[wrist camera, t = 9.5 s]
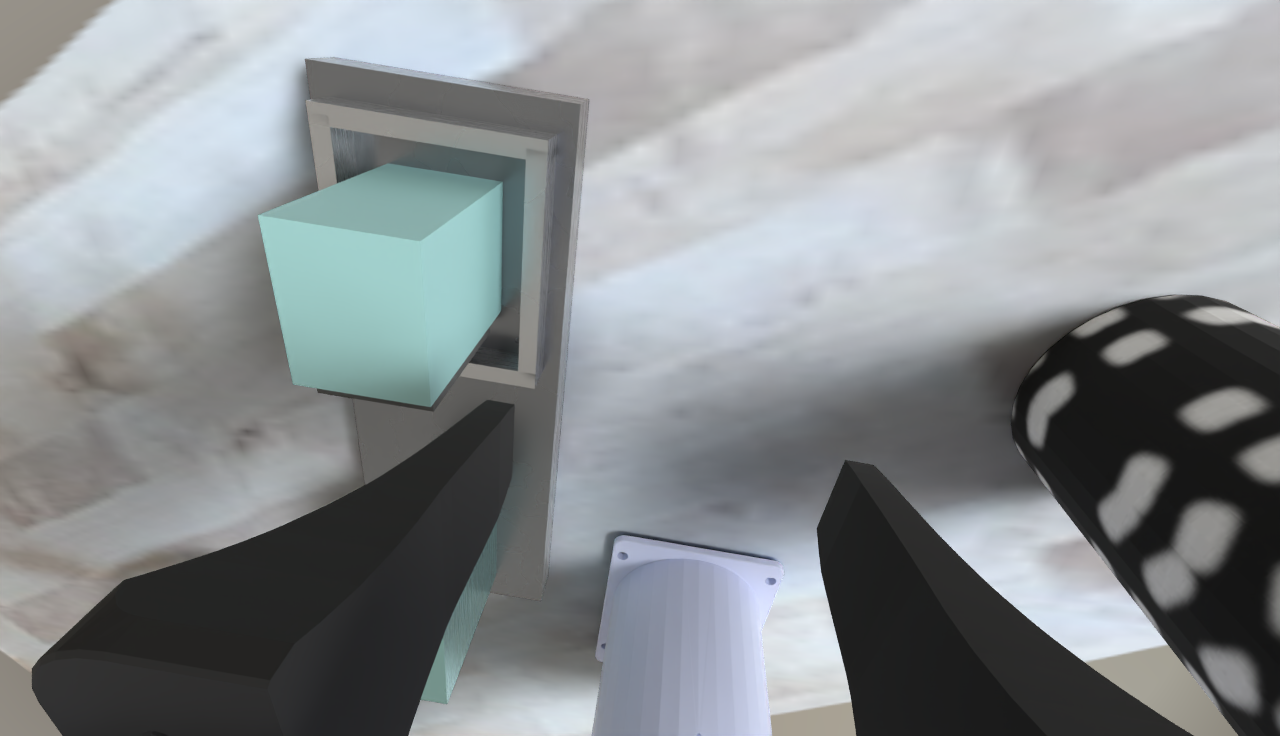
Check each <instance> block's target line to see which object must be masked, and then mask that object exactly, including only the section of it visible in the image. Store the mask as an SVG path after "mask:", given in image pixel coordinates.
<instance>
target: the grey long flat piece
mask: <svg viewBox="0 0 1280 736" xmlns="http://www.w3.org/2000/svg"><path fill="white" fill-rule="evenodd" d="M305 63H306V70H307V77H308V84H309V92H310V99H311V100H305V101H306V108H307V115H308V122H309V129H310V135H311V142H312V149H313V156H314V163H315V170H316V177H317V184H318V191H320V190H322V189H325V188H327V187H330V186H332V185H335V184H337V183H340V182H342V181H345V180H347V179H350V178H352V177H355V176H357V175H360V174H362V173H365V172H367V171H370V170H372V169H375V168H377V167H380V166H382V165H385V164H387V163H389V164H395V165H402V166H408V167H414V168H420V169H427V170H433V171H439V172H445V173H451V174H458V175H464V176H470V177H476V178H483V179H489V180H495V181H501V182H503V211H502V293H501V312H500V313H499V315H498V316H497V317H496V319H495V320H494V321H493V323H492V324H491V326H490V334H489V335H488V337H487V338H486V339H485V341H484V342H483V344H482V345H481V346H480V348H479V349H478V351H477V352H476V353H475V355H474V356H473V358H472V359H471V360H470V362H469V363H468V365H467V366H466V367H465V369H464V370H463V372H462V373H461V374H460V376H459V377H458V379H457V380H456V381H455V383H454V384H453V386H452V387H451V388H450V390H449V391H448V393H447V394H446V395H445V397H444V398H443V400H442V401H441V402H440V404H439V405H438V407H437V408H436V409H435V411H434V412H432V411H426V410H420V409H414V408H408V407H402V406H396V405H390V404H384V403H378V402H372V401H365V400H359V399H353V404H354V411H355V418H356V426H357V433H358V440H359V447H360V454H361V461H362V468H363V475H364V482H365V485H366V484H368V483H370V482H371V481H373V480H375V479H376V478H378V477H380V476H381V475H383V474H384V473H386V472H388V471H389V470H391V469H392V468H394V467H395V466H397V465H398V464H400V463H401V462H403V461H404V460H406V459H407V458H409V457H410V456H412V455H413V454H415V453H416V452H418V451H419V450H421V449H422V448H423V447H425V446H426V445H427V444H429V443H430V442H432V441H433V440H434V439H436V438H437V437H438V436H440V435H441V434H443V433H444V432H445V431H447V430H448V429H449V428H450V427H452V426H453V425H454V424H456V423H457V422H458V421H460V420H461V419H462V418H463V417H465V416H466V415H467V414H469V413H470V412H471V411H472V410H474V409H475V408H476V407H478V406H479V405H480V404H482V403H483V402H484V401H486V400H492V401H498V402H504V403H509V404H515V412H514V442H513V471H512V479H511V482H510V485H509V488H508V491H507V494H506V497H505V500H504V503H503V506H502V509H501V512H500V515H499V517H498V520H497V522H496V524H495V526H494V528H493V530H492V532H491V534H490V536H489V539H488V541H487V543H486V545H485V547H484V549H483V551H482V553H481V555H480V557H479V559H478V561H477V563H476V566H475V568H474V570H473V572H472V574H471V576H470V578H469V580H468V582H467V584H466V586H465V588H464V590H463V592H462V594H461V596H460V599H459V601H458V603H457V605H456V607H455V609H454V611H453V614H452V616H451V618H450V621H449V623H448V625H447V628H446V630H445V633H444V636H443V639H442V641H441V644H440V647H439V649H438V652H437V655H436V658H435V660H434V663H433V666H432V668H431V671H430V674H429V677H428V680H427V682H426V685H425V688H424V691H423V694H422V697H421V699H420V700H426V701H432V702H437V703H443V704H447V703H448V701H449V698H450V696H451V693H452V690H453V688H454V685H455V682H456V680H457V677H458V674H459V672H460V669H461V667H462V664H463V661H464V659H465V656H466V653H467V651H468V648H469V646H470V643H471V640H472V638H473V635H474V632H475V630H476V627H477V624H478V622H479V619H480V617H481V614H482V611H483V609H484V606H485V603H486V601H487V598H488V595H489V593H496V594H502V595H508V596H514V597H519V598H525V599H531V600H537V601H541V599H542V595H543V592H544V588H545V585H546V581H547V578H548V570H549V559H550V547H551V536H552V524H553V512H554V501H555V489H556V478H557V466H558V455H559V443H560V432H561V420H562V408H563V397H564V385H565V374H566V362H567V351H568V339H569V327H570V316H571V304H572V293H573V281H574V270H575V258H576V246H577V235H578V223H579V212H580V200H581V189H582V177H583V165H584V154H585V142H586V131H587V119H588V108H589V99H584V98H578V97H572V96H566V95H560V94H553V93H547V92H541V91H535V90H529V89H523V88H517V87H511V86H505V85H499V84H493V83H487V82H481V81H475V80H468V79H462V78H456V77H450V76H444V75H438V74H432V73H426V72H420V71H414V70H408V69H402V68H396V67H390V66H384V65H377V64H371V63H365V62H359V61H353V60H347V59H341V58H335V57H330V58H310V59H305Z"/></svg>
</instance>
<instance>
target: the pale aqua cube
mask: <svg viewBox="0 0 1280 736" xmlns="http://www.w3.org/2000/svg"><path fill="white" fill-rule="evenodd" d="M502 211H503V182H501V181H495V180H489V179H483V178H476V177H470V176H464V175H458V174H451V173H445V172H439V171H433V170H427V169H420V168H414V167H408V166H402V165H395V164H389V163H387V164H385V165H382V166H380V167H377V168H375V169H372V170H370V171H367V172H365V173H362V174H360V175H357V176H355V177H352V178H350V179H347V180H345V181H342V182H340V183H337V184H335V185H332V186H330V187H327V188H325V189H322V190H320V191H317V192H315V193H312V194H310V195H307V196H305V197H302V198H300V199H297V200H295V201H292V202H289V203H287V204H284V205H282V206H279V207H277V208H274V209H272V210H269V211H267V212H264V213H262V214H259V215H258V219H259V223H260V228H261V233H262V238H263V243H264V247H265V252H266V257H267V262H268V267H269V272H270V276H271V281H272V286H273V291H274V296H275V300H276V305H277V310H278V315H279V320H280V324H281V329H282V334H283V339H284V344H285V348H286V353H287V358H288V363H289V368H290V372H291V377H292V382H293V385H299V386H305V387H311V388H317V391H318V393H323V394H329V395H335V396H341V397H347V398H353V399H359V400H365V401H372V402H378V403H384V404H390V405H396V406H402V407H408V408H414V409H420V410H426V411H432V412H434V411H435V409H436V408H437V407H438V405H439V404H440V402H441V401H442V400H443V398H444V397H445V395H446V394H447V393H448V391H449V390H450V388H451V387H452V386H453V384H454V383H455V381H456V380H457V379H458V377H459V376H460V374H461V373H462V372H463V370H464V369H465V367H466V366H467V365H468V363H469V362H470V360H471V359H472V358H473V356H474V355H475V353H476V352H477V351H478V349H479V348H480V346H481V345H482V344H483V342H484V341H485V339H486V338H487V337H488V335H489V334H490V326H491V324H492V323H493V321H494V320H495V319H496V317H497V316H498V315H499V313H500V312H501V293H502Z"/></svg>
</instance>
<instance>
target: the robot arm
mask: <svg viewBox="0 0 1280 736" xmlns="http://www.w3.org/2000/svg"><path fill="white" fill-rule="evenodd" d="M514 412H515V404H509V403H504V402H498V401H492V400H486V401H484V402H483V403H482V404H480V405H479V406H478V407H476V408H475V409H474V410H472V411H471V412H470V413H469V414H467V415H466V416H465V417H463V418H462V419H461V420H460V421H458V422H457V423H456V424H454V425H453V426H452V427H450V428H449V429H448V430H447V431H445V432H444V433H443V434H441V435H440V436H438V437H437V438H436V439H434V440H433V441H432V442H430V443H429V444H427V445H426V446H425V447H423V448H422V449H421V450H419V451H418V452H416V453H415V454H413V455H412V456H410V457H409V458H407V459H406V460H404V461H403V462H401V463H400V464H398V465H397V466H395V467H394V468H392V469H391V470H389V471H388V472H386V473H384V474H383V475H381V476H380V477H378V478H376V479H375V480H373V481H371V482H370V483H368V484H366V485H364V486H363V487H361V488H359V489H357V490H355V491H353V492H352V493H350V494H348V495H346V496H344V497H342V498H340V499H339V500H337V501H335V502H333V503H331V504H329V505H327V506H324V507H322V508H320V509H318V510H316V511H313V512H311V513H309V514H307V515H305V516H303V517H300V518H298V519H296V520H294V521H292V522H289V523H287V524H285V525H283V526H281V527H278V528H276V529H274V530H271V531H269V532H266V533H264V534H261V535H258V536H256V537H253V538H251V539H248V540H246V541H243V542H240V543H238V544H235V545H232V546H229V547H227V548H224V549H221V550H219V551H216V552H213V553H210V554H207V555H204V556H201V557H198V558H195V559H192V560H189V561H185V562H182V563H179V564H176V565H172V566H169V567H166V568H163V569H160V570H156V571H153V572H150V573H147V574H143V575H140V576H137V577H133V578H130V579H126V580H124V581H123V582H121V583H120V584H119V585H118V586H117V587H116V588H114V589H113V590H112V591H111V592H110V593H109V594H108V595H107V596H106V597H105V598H104V599H102V600H101V601H100V602H99V603H98V604H97V605H96V606H95V607H94V608H93V609H92V610H91V611H90V612H89V613H88V614H86V615H85V616H84V617H83V618H82V619H81V620H80V621H79V622H78V623H77V624H76V625H75V626H74V627H73V628H72V629H70V630H69V631H68V632H67V633H66V634H65V635H64V636H63V637H62V638H61V639H60V640H59V641H58V642H57V643H56V644H55V645H53V646H52V647H51V648H50V649H49V650H48V651H47V652H46V653H45V654H44V655H43V656H42V657H41V658H40V659H39V660H38V661H37V663H36V664H35V665H34V667H33V668H32V689H33V691H34V693H35V695H36V697H37V699H38V701H39V703H40V705H41V706H42V707H43V709H44V710H45V712H46V713H47V714H48V716H49V717H50V719H51V720H52V721H53V723H54V724H55V726H56V727H57V728H58V730H59V731H60V733H61V734H62V736H408V734H409V731H410V728H411V725H412V722H413V719H414V717H415V714H416V711H417V708H418V705H419V702H420V699H421V697H422V694H423V691H424V688H425V685H426V682H427V680H428V677H429V674H430V671H431V668H432V666H433V663H434V660H435V658H436V655H437V652H438V649H439V647H440V644H441V641H442V639H443V636H444V633H445V630H446V628H447V625H448V623H449V621H450V618H451V616H452V614H453V611H454V609H455V607H456V605H457V603H458V601H459V599H460V596H461V594H462V592H463V590H464V588H465V586H466V584H467V582H468V580H469V578H470V576H471V574H472V572H473V570H474V568H475V566H476V563H477V561H478V559H479V557H480V555H481V553H482V551H483V549H484V547H485V545H486V543H487V541H488V539H489V536H490V534H491V532H492V530H493V528H494V526H495V524H496V522H497V520H498V517H499V515H500V512H501V509H502V506H503V503H504V500H505V497H506V494H507V491H508V488H509V485H510V482H511V479H512V471H513V442H514ZM817 536H818V547H819V557H820V565H821V573H822V577H823V581H824V586H825V590H826V594H827V598H828V602H829V607H830V611H831V615H832V619H833V623H834V627H835V631H836V635H837V639H838V643H839V647H840V651H841V655H842V659H843V663H844V667H845V671H846V675H847V680H848V685H849V690H850V695H851V701H852V708H853V715H854V721H855V728H856V736H1193V735H1192V734H1190V733H1188V732H1187V731H1185V730H1184V729H1182V728H1180V727H1178V726H1177V725H1175V724H1174V723H1172V722H1171V721H1169V720H1167V719H1166V718H1164V717H1163V716H1161V715H1160V714H1158V713H1157V712H1155V711H1154V710H1152V709H1151V708H1149V707H1148V706H1146V705H1145V704H1143V703H1142V702H1140V701H1139V700H1137V699H1136V698H1134V697H1133V696H1131V695H1130V694H1128V693H1127V692H1125V691H1124V690H1122V689H1121V688H1119V687H1118V686H1117V685H1115V684H1114V683H1112V682H1111V681H1110V680H1108V679H1107V678H1105V677H1104V676H1102V675H1101V674H1100V673H1098V672H1097V671H1095V670H1094V669H1092V668H1091V667H1090V666H1088V665H1087V664H1086V663H1085V662H1083V661H1082V660H1081V659H1079V658H1078V657H1077V656H1075V655H1074V654H1073V653H1071V652H1070V651H1069V650H1067V649H1066V648H1065V647H1063V646H1062V645H1061V644H1059V643H1058V642H1057V641H1055V640H1054V639H1053V638H1052V637H1050V636H1049V635H1048V634H1046V633H1045V632H1044V631H1043V630H1041V629H1040V628H1039V627H1038V626H1036V625H1035V624H1034V623H1033V622H1032V621H1030V620H1029V619H1028V618H1027V617H1026V616H1025V615H1023V614H1022V613H1021V612H1020V611H1019V610H1018V609H1016V608H1015V607H1014V606H1013V605H1012V604H1010V603H1009V602H1008V601H1007V600H1006V599H1005V598H1003V597H1002V596H1001V595H1000V594H999V593H998V592H997V591H996V590H994V589H993V588H992V587H991V586H990V585H989V584H988V583H987V582H986V581H985V580H984V579H983V578H982V577H980V576H979V575H978V574H977V573H976V572H975V571H974V570H973V569H972V568H971V567H970V566H969V565H968V564H967V563H966V562H965V561H964V560H963V559H962V558H961V557H960V556H959V555H958V554H957V553H956V552H955V551H954V550H953V549H952V548H951V547H950V546H949V545H948V544H947V543H946V542H945V541H944V540H943V539H942V538H941V537H940V536H939V535H938V534H937V533H936V532H935V530H934V529H933V528H932V527H931V526H930V525H929V524H928V523H927V522H926V521H925V520H924V519H923V518H922V517H921V515H920V514H919V513H918V512H917V511H916V510H915V509H914V508H913V507H912V506H911V505H910V503H909V502H908V501H907V500H906V499H905V498H904V497H903V496H902V495H901V494H900V492H899V491H898V490H897V489H896V488H895V487H894V486H893V485H892V484H891V483H890V482H889V480H888V479H887V478H886V477H885V476H884V475H883V474H882V473H881V472H880V471H879V470H878V469H877V468H876V467H875V466H874V465H870V464H864V463H858V462H853V461H847V460H845V462H844V464H843V467H842V469H841V472H840V474H839V476H838V479H837V481H836V484H835V486H834V488H833V491H832V493H831V495H830V498H829V500H828V503H827V505H826V507H825V510H824V512H823V515H822V517H821V519H820V522H819V524H818V527H817ZM620 552H624V553H620ZM783 576H784V568H783V565H782V564H781V563H780V562H777V561H773V560H768V559H762V558H756V557H750V556H744V555H738V554H732V553H727V552H721V551H715V550H709V549H703V548H697V547H691V546H686V545H680V544H674V543H668V542H662V541H656V540H650V539H644V538H639V537H633V536H627V535H621V536H618V537H617V538H615V541H614V545H613V551H612V557H611V563H610V569H609V575H608V581H607V587H606V593H605V599H604V605H603V611H602V617H601V623H600V629H599V635H598V641H597V647H596V653H595V658H596V659H597V660H598V661H600V662H603V666H602V672H601V679H600V685H599V691H598V698H597V704H596V711H595V717H594V724H593V730H592V736H772V729H771V720H770V710H769V701H768V691H767V681H766V672H765V662H764V653H763V643H762V633H761V631H762V629H763V626H764V624H765V621H766V619H767V616H768V614H769V611H770V609H771V606H772V604H773V601H774V599H775V596H776V594H777V591H778V589H779V586H780V584H781V581H782V579H783Z"/></svg>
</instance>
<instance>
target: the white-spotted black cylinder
mask: <svg viewBox="0 0 1280 736" xmlns="http://www.w3.org/2000/svg"><path fill="white" fill-rule="evenodd" d="M1011 426H1012V433H1013V439H1014V441H1015V443H1016V446H1017V448H1018V450H1019V452H1020V454H1021V455H1022V456H1023V458H1024V459H1025V460H1026V462H1027V463H1028V464H1029V465H1030V467H1031V468H1032V469H1033V471H1034V472H1035V473H1036V474H1037V476H1038V477H1039V478H1040V480H1041V481H1042V482H1043V484H1044V485H1045V486H1046V487H1047V489H1048V490H1049V491H1050V493H1051V494H1052V495H1053V496H1054V498H1055V499H1056V500H1057V502H1058V503H1059V504H1060V505H1061V507H1062V508H1063V509H1064V511H1065V512H1066V513H1067V515H1068V516H1069V517H1070V518H1071V520H1072V521H1073V522H1074V524H1075V525H1076V526H1077V527H1078V529H1079V530H1080V531H1081V533H1082V534H1083V535H1084V537H1085V538H1086V539H1087V540H1088V542H1089V543H1090V544H1091V546H1092V547H1093V548H1094V549H1095V551H1096V552H1097V553H1098V555H1099V556H1100V557H1101V558H1102V560H1103V561H1104V562H1105V564H1106V565H1107V566H1108V568H1109V569H1110V570H1111V571H1112V573H1113V574H1114V575H1115V577H1116V578H1117V579H1118V580H1119V582H1120V583H1121V584H1122V586H1123V587H1124V588H1125V589H1126V591H1127V592H1128V593H1129V595H1130V596H1131V597H1132V599H1133V600H1134V601H1135V602H1136V604H1137V605H1138V606H1139V608H1140V609H1141V610H1142V611H1143V613H1144V614H1145V615H1146V617H1147V618H1148V619H1149V621H1150V622H1151V623H1152V624H1153V626H1154V627H1155V628H1156V630H1157V631H1158V632H1159V633H1160V635H1161V636H1162V637H1163V639H1164V640H1165V641H1166V642H1167V644H1168V645H1169V646H1170V648H1171V649H1172V650H1173V652H1174V653H1175V654H1176V655H1177V657H1178V658H1179V659H1180V661H1181V662H1182V663H1183V664H1184V666H1185V667H1186V668H1187V670H1188V671H1189V672H1190V673H1191V675H1192V676H1193V677H1194V679H1195V680H1196V681H1197V683H1198V684H1199V685H1200V686H1201V688H1202V689H1203V690H1204V692H1205V693H1206V694H1207V695H1208V697H1209V698H1210V699H1211V701H1212V702H1213V703H1214V705H1215V706H1216V707H1217V708H1218V710H1219V711H1220V712H1221V713H1222V715H1223V716H1224V717H1225V719H1226V720H1227V721H1228V722H1229V724H1230V725H1231V726H1232V728H1233V729H1234V730H1235V732H1236V733H1237V734H1238V736H1280V327H1278V326H1276V325H1274V324H1272V323H1270V322H1268V321H1266V320H1264V319H1262V318H1260V317H1258V316H1256V315H1254V314H1252V313H1250V312H1248V311H1246V310H1244V309H1242V308H1239V307H1237V306H1235V305H1233V304H1231V303H1229V302H1227V301H1223V300H1219V299H1214V298H1210V297H1205V296H1188V295H1173V296H1166V297H1158V298H1151V299H1146V300H1142V301H1139V302H1135V303H1131V304H1128V305H1124V306H1121V307H1118V308H1116V309H1114V310H1111V311H1109V312H1107V313H1104V314H1102V315H1100V316H1098V317H1095V318H1093V319H1091V320H1090V321H1088V322H1086V323H1085V324H1083V325H1081V326H1080V327H1078V328H1076V329H1075V330H1073V331H1072V332H1070V333H1069V334H1067V335H1066V336H1065V337H1064V338H1062V339H1061V340H1060V341H1059V342H1057V343H1056V344H1055V345H1054V346H1052V347H1051V348H1050V349H1049V350H1048V351H1047V352H1046V353H1045V354H1044V355H1043V356H1042V357H1041V359H1040V360H1039V361H1038V362H1037V363H1036V364H1035V365H1034V366H1033V367H1032V369H1031V370H1030V372H1029V374H1028V375H1027V377H1026V378H1025V380H1024V381H1023V383H1022V385H1021V386H1020V389H1019V391H1018V394H1017V396H1016V399H1015V402H1014V404H1013V411H1012V418H1011Z"/></svg>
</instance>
